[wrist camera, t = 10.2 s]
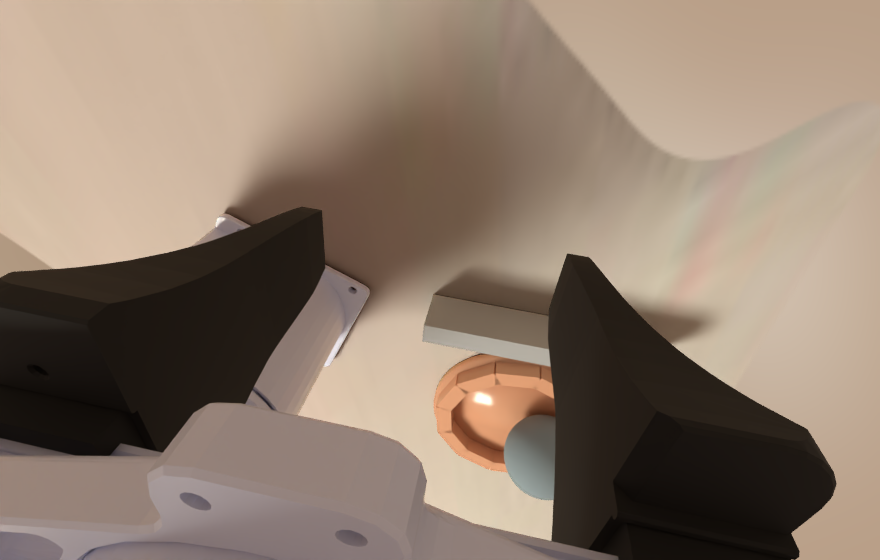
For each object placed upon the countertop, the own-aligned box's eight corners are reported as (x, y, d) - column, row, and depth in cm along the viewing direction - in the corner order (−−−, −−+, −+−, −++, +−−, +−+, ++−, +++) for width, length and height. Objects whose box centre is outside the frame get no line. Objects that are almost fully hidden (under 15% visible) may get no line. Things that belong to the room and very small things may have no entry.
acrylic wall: (431, 309, 26) (422, 341, 24) (433, 294, 25) (424, 325, 23) (650, 351, 25) (662, 388, 23) (659, 336, 24) (672, 373, 22)
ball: (476, 464, 28) (534, 532, 25) (510, 406, 26) (577, 471, 23) (519, 444, 32) (573, 500, 29) (551, 392, 30) (613, 446, 27)
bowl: (409, 415, 32) (404, 433, 31) (486, 324, 26) (484, 342, 25) (533, 474, 34) (533, 494, 33) (633, 402, 28) (638, 423, 26)
